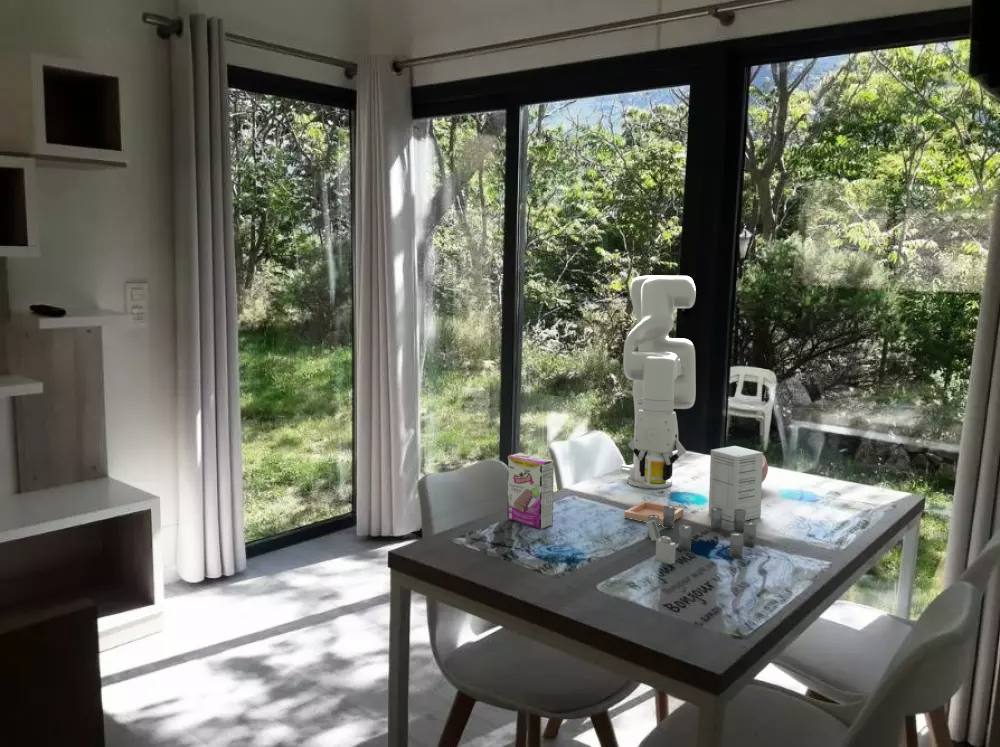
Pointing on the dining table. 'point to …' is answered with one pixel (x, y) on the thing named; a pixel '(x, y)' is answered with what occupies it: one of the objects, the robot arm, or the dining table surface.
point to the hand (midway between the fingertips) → (655, 476)
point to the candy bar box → (530, 490)
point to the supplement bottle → (654, 469)
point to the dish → (650, 511)
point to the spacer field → (716, 525)
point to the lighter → (661, 544)
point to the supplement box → (736, 481)
